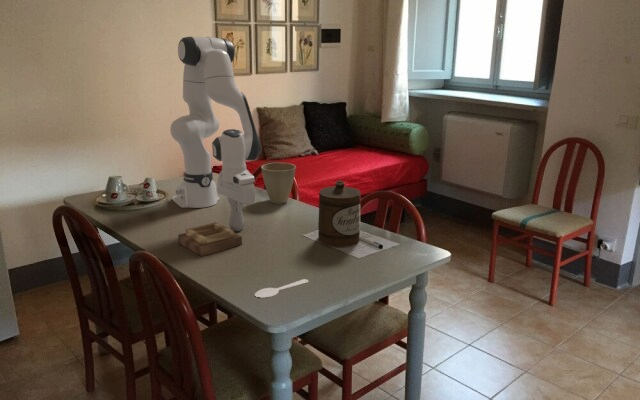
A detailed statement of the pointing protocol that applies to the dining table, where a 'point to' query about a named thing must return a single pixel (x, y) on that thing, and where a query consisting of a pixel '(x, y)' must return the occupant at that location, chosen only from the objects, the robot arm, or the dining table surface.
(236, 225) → the salt shaker
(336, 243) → the wooden container
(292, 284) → the spoon
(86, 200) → the dining table surface
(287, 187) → the plant pot
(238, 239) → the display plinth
